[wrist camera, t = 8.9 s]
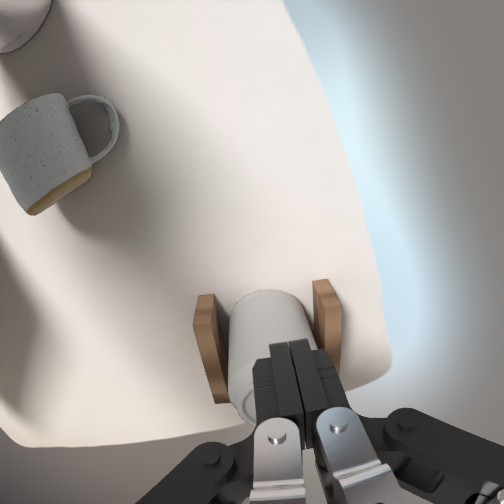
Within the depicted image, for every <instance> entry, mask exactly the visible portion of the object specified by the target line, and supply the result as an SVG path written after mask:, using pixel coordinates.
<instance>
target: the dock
mask: <svg viewBox="0 0 504 504" xmlns="http://www.w3.org/2000/svg"><path fill="white" fill-rule="evenodd" d="M312 283H313V310H314V340H315V343H316V346H317V349H322V348H323V349H324V350H325V351H326V352H327V353H328V354H329V355H330V356H331V357H332V360H333V362H334V365H335V368H336V370H337V373H338V376H339V371H340V353H341V330H342V304H341V302H340V300H339V299H338V297H337V295H336V293H335V291H334V290H333V288H332V286H331V284H330V282H329V281H328V279H322V280H316V281H312ZM193 329H194V332H195V336H196V340H197V343H198V347H199V351H200V354H201V358H202V361H203V365H204V368H205V372H206V375H207V379H208V382H209V385H210V389H211V392H212V395H213V398H214V402H215V404H220V403H231V402H230V398H229V394H228V361H229V360H228V359H227V354H226V350H225V345H224V340H223V336H222V331H221V327H220V322H219V317H218V312H217V307H216V303H215V298H214V294H209V295H200V296H198V300H197V305H196V311H195V316H194V321H193Z"/></svg>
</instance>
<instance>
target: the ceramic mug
mask: <svg viewBox="0 0 504 504" xmlns="http://www.w3.org/2000/svg"><path fill="white" fill-rule="evenodd" d="M83 102H98V103H101V104H102V105H103V106H104V107H105V108H106V111H107V114H108V116H109V120H110V124H111V125H110V130H111V132H112V138H111V140H110V142H109V143H108V145H107V147H106V148H104V149H103V150H102V151H101V152H100V153H99V154H97V155H95V156H94V157H91V158H90V157H89V155H88V152H87V149H86V147H85V145H84V143H83V140H82V138H81V137H80V135H79V132H78V130H77V127H76V124H75V121H74V119H73V117H72V114H71V112H70V109H69V108H70V107H71V106H73V105H76V104H79V103H83ZM119 129H120V122H119V117H118V114H117V111H116V109H115V107H114V105H113V104H112V103H111V102H110V101H109V100H107V99H106V98H104V97H102V96H98V95H91V94H90V95H82V96H77V97H74V98H71V99H69V100H66V99H65V97H64V96H63V95H62V94H60V93H50V94H46V95H42V96H40V97H37V98H35V99H32V100H30V101H28V102H26V103H24V104H23V105H22V106H20V107H18V108H16V109H15V110H13V111H12V112H11V113H9V114H8V115H7V116H6V117H5V118H3V119H2V120H1V121H0V171H1V173H2V174H3V176H4V178H5V180H6V182H7V183H8V185H9V187H10V189H11V191H12V193H13V195H14V197H15V198H16V200H17V202H18V203H19V205H20V206H21V207H22V208H23V209H24V211H25V212H26V213H28V214H29V215H33V216H35V215H37V214H39V213H41V212H42V211H44V210H45V209H47V208H48V207H50V206H51V205H53V204H54V203H56V202H57V201H59V200H60V199H62V198H63V197H65V196H66V195H67V194H69V193H70V192H72V191H73V190H75V189H76V188H78V187H79V186H81V185H82V184H83V183H85V182H86V181H88V180H89V179H90V178H91V175H92V172H93V168H92V164H93V163H95V162H96V161H98V160H100V159H101V158H103V157H104V156H105V155H106V154H107V153H108V152H109V151H110V150H111V149H112V148H113V146H114V145H115V143H116V141H117V138H118V135H119Z"/></svg>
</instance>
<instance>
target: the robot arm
mask: <svg viewBox="0 0 504 504" xmlns="http://www.w3.org/2000/svg"><path fill="white" fill-rule="evenodd" d="M51 2H52V0H0V53H9V52H12V51H14V50H16V49H18V48H19V47H21V46H22V45H24V44H25V43H26V42H27V41H28V40H29V39H30V38H31V37H32V36H33V35H34V34H35V33H36V32H37V30H38V29H39V27H40V26H41V25H42V23H43V21H44V19H45V18H46V16H47V14H48V11H49V9H50V6H51ZM288 344H289V346H288ZM269 351H270V357H268V358H261V359H257V360H256V362H255V364H254V366H253V368H252V374H253V386H254V398H255V410H256V427H255V429H254V431H253V433H252V434H251V435H250V436H249V437H248V438H246V439H245V440H243V441H241V442H238V443H235V444H233V445H230V446H226V445H225V444H222V443H219V442H207V443H203V444H201V445H199V446H197V447H196V448H195V449H194V450H193V451H192V452H191V453H190V454H188V455H187V457H185V458H184V459H183V460H182V461H181V462H180V463H179V464H178V465H177V466H176V467H175V468H174V469H173V470H172V471H171V472H170V473H169V474H168V475H166V476H165V477H164V478H163V479H162V480H161V481H160V482H159V483H158V484H157V485H156V486H155V487H153V488H152V489H151V490H150V491H149V492H148V493H147V494H146V495H144V496H143V497H142V498H141V499H140V500H139V501H138V502H136V503H135V504H241V503H242V502H243V501H244V499H245V498H246V497H249V496H250V504H306V495H305V486H304V479H303V468H302V465H303V463H302V450H304V449H305V444H306V449H310V448H313V449H314V454H315V466H316V469H317V472H318V475H319V479H320V481H321V485H322V488H323V491H324V494H325V497H326V500H327V504H408V503H407V501H406V499H405V497H404V494H403V492H402V490H401V488H403V489H405V490H407V491H409V492H411V493H413V494H415V495H417V496H419V497H421V498H423V499H426V500H428V501H430V502H432V503H434V504H504V446H502V445H499V444H496V443H494V442H491V441H488V440H486V439H484V438H481V437H479V436H476V435H473V434H471V433H469V432H466V431H464V430H461V429H459V428H457V427H454V426H452V425H449V424H447V423H445V422H443V421H440V420H438V419H435V418H433V417H431V416H429V415H427V414H424V413H422V412H420V411H418V410H415V409H412V408H401V409H397V410H395V411H393V412H392V413H391V414H390V415H389V416H388V417H387V418H368V417H363V416H361V415H359V414H357V413H355V412H354V411H353V410H352V409H351V407H350V405H349V403H348V400H347V398H346V395H345V392H344V389H343V387H342V384H341V381H340V379H339V376H338V373H337V370H336V368H335V365H334V362H333V360H332V357H331V356H330V355H329V354H328V353H327V352H326V351H325V350H324V349H323V348H322V349H317V350H311V348H310V344H309V341H308V339H307V338H304V339H298V340H292V341H288V342H287V341H286V342H280V343H273V344H269ZM400 487H401V488H400Z"/></svg>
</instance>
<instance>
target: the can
mask: <svg viewBox="0 0 504 504" xmlns="http://www.w3.org/2000/svg"><path fill="white" fill-rule="evenodd" d="M304 338H307V339H308V341H309V344H310V348H311V350H317V346H316V343H315V340H314V337H313V334H312V331H311V328H310V326H309V323H308V320H307V317H306V314H305V311H304V309H303V307H302V305H301V303H300V302H299V301H298V300H297V299H296V298H295V297H294V296H293V295H291V294H288V293H286V292H284V291H281V290H274V289H266V290H259V291H256V292H253V293H251V294H249V295H246V296H245V297H244V298H243V299H241V300H240V301H239V302H238V303H237V304H236V305H235V307H234V309H233V310H232V312H231V316H230V322H229V361H228V394H229V398H230V402H231V403H232V404H233V406H234V407H235V408H236V409H237V410H238V413H239V415H240V417H241V418H242V419H243V420H244V421H245V422H247V423H248V424H250V425H252V426H254V427H256V410H255V398H254V386H253V374H252V368H253V366H254V364H255V362H256V360H257V359H261V358H268V357H270V351H269V344H273V343H280V342H286V341H287V342H288V341H292V340H298V339H304ZM288 346H289V344H288Z"/></svg>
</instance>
